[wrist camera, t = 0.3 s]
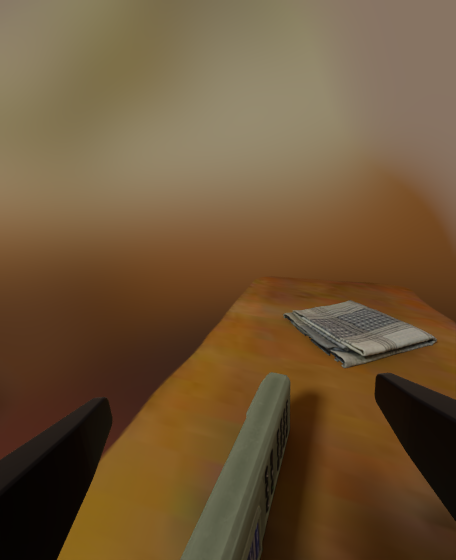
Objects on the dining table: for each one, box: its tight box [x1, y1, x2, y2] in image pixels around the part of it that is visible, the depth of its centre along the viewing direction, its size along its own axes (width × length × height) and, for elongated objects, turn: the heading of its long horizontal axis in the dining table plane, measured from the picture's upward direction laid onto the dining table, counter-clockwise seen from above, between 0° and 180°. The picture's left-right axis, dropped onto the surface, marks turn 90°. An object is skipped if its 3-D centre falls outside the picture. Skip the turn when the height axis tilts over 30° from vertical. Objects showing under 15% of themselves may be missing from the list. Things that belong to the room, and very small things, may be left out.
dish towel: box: [283, 300, 437, 368], centre depth 43 cm, size 19×18×3 cm
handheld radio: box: [180, 373, 290, 560], centre depth 14 cm, size 7×3×25 cm
